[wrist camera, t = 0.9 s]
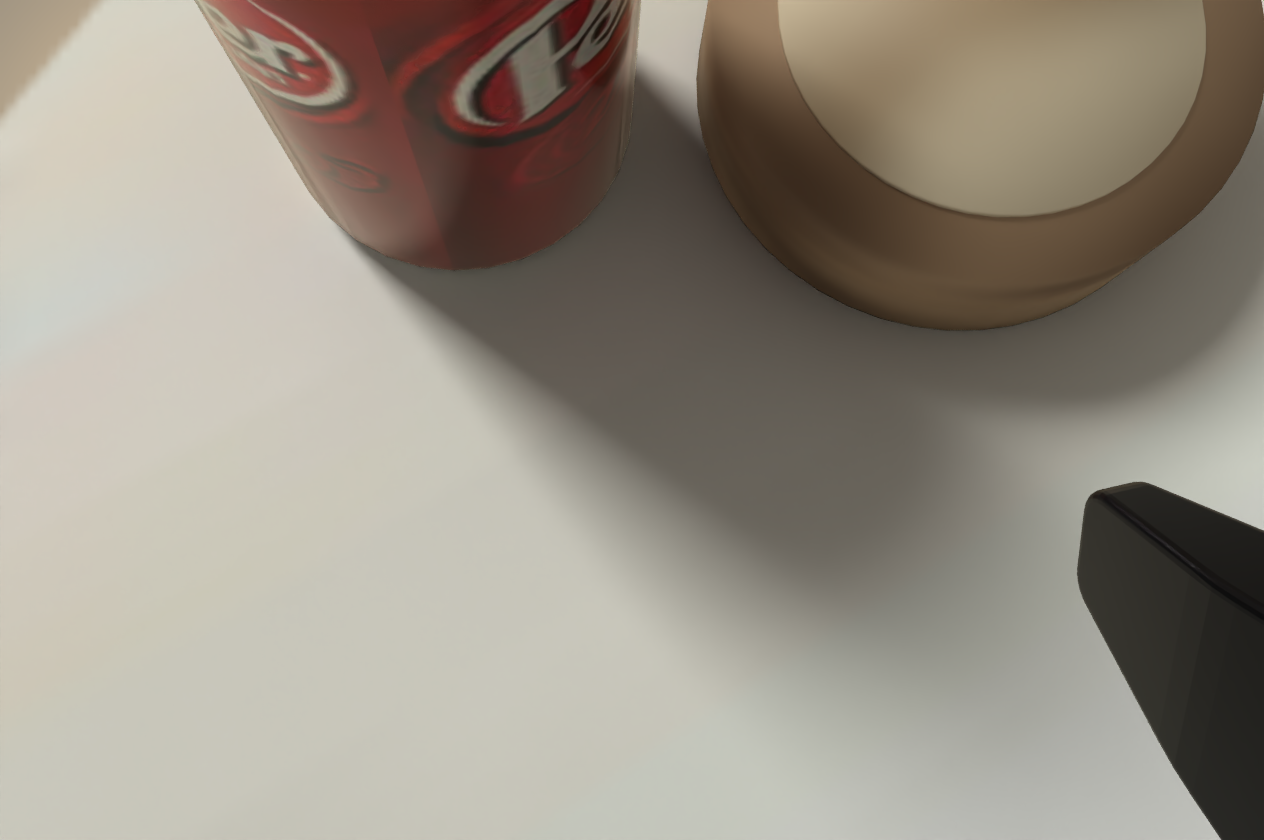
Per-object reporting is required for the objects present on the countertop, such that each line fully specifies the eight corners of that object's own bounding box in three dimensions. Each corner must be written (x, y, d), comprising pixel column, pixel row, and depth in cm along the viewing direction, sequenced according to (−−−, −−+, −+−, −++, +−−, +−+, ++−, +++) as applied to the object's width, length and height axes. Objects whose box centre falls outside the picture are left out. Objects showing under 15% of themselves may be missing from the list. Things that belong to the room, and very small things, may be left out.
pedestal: (1279, 73, 25) (1376, -10, 22) (996, 434, 23) (1059, 399, 20) (895, -206, 26) (936, -322, 23) (594, 113, 24) (594, 34, 21)
